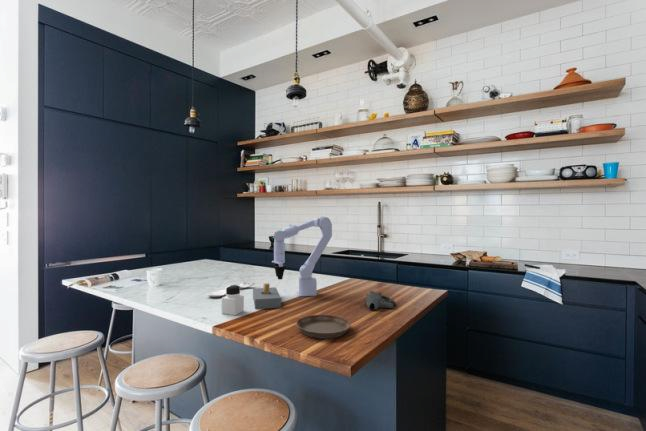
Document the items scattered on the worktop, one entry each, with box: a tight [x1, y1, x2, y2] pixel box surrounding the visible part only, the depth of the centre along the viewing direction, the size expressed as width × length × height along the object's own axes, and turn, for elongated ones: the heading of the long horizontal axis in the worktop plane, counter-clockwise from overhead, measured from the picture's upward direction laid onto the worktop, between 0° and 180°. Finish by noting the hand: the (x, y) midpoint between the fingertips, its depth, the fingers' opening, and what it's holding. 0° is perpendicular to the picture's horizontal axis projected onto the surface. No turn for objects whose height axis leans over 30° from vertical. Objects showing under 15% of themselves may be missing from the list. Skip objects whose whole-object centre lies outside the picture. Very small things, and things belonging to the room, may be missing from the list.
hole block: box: [252, 287, 282, 310], centre depth 170 cm, size 12×22×4 cm, turn 14°
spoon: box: [206, 280, 256, 298], centre depth 189 cm, size 9×32×4 cm, turn 153°
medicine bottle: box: [221, 284, 245, 316], centre depth 152 cm, size 7×7×12 cm
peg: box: [262, 282, 270, 294], centre depth 170 cm, size 3×3×9 cm
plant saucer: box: [296, 314, 351, 339], centre depth 131 cm, size 21×21×3 cm
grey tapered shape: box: [363, 290, 397, 311], centre depth 168 cm, size 5×25×15 cm
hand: (279, 277), depth 183 cm, fingers open, 7 cm apart
